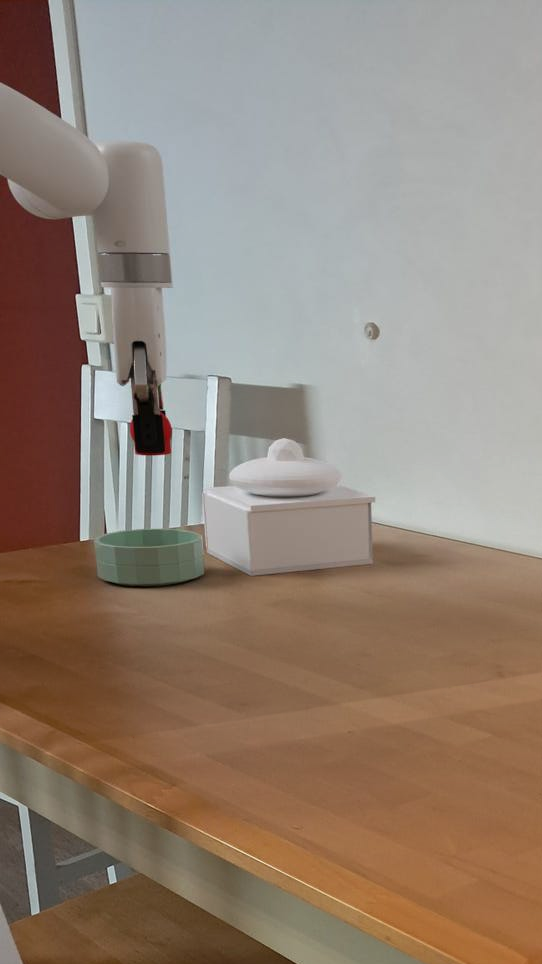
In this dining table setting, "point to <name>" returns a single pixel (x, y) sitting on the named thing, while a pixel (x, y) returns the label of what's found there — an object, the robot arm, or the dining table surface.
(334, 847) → the dining table surface
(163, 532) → the dessert bowl
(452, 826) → the dining table surface
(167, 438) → the strawberry
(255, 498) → the white lidded box
